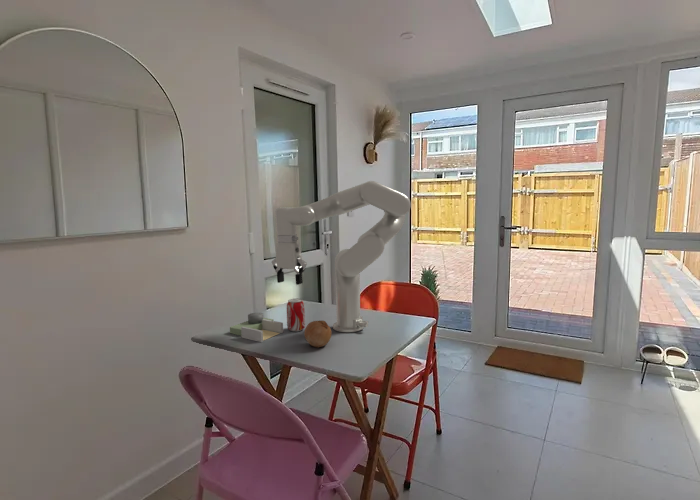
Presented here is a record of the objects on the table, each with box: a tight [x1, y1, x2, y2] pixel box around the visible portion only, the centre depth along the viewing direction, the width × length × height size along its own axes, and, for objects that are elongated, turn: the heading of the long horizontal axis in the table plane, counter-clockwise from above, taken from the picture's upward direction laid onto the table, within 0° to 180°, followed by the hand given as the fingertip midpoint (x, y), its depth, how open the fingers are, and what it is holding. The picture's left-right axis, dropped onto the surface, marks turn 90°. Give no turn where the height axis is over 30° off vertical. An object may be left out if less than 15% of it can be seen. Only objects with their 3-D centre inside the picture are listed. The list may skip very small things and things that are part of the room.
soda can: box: [286, 297, 306, 333], centre depth 155 cm, size 7×7×12 cm
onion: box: [303, 320, 332, 348], centre depth 137 cm, size 10×9×10 cm
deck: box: [229, 312, 284, 343], centre depth 153 cm, size 18×18×5 cm
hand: (289, 283), depth 153 cm, fingers open, 9 cm apart
